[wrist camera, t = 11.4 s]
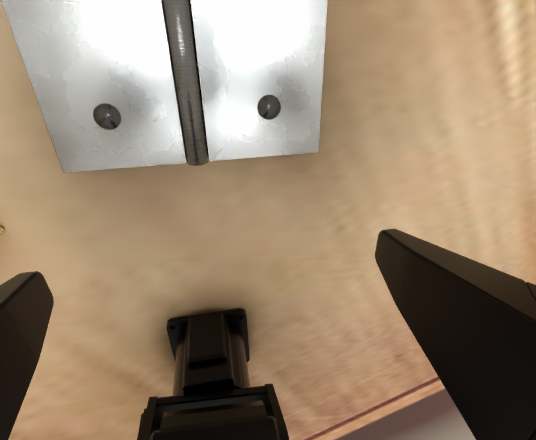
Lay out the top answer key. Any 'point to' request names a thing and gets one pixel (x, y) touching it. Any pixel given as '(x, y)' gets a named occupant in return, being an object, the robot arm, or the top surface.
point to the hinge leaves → (162, 78)
